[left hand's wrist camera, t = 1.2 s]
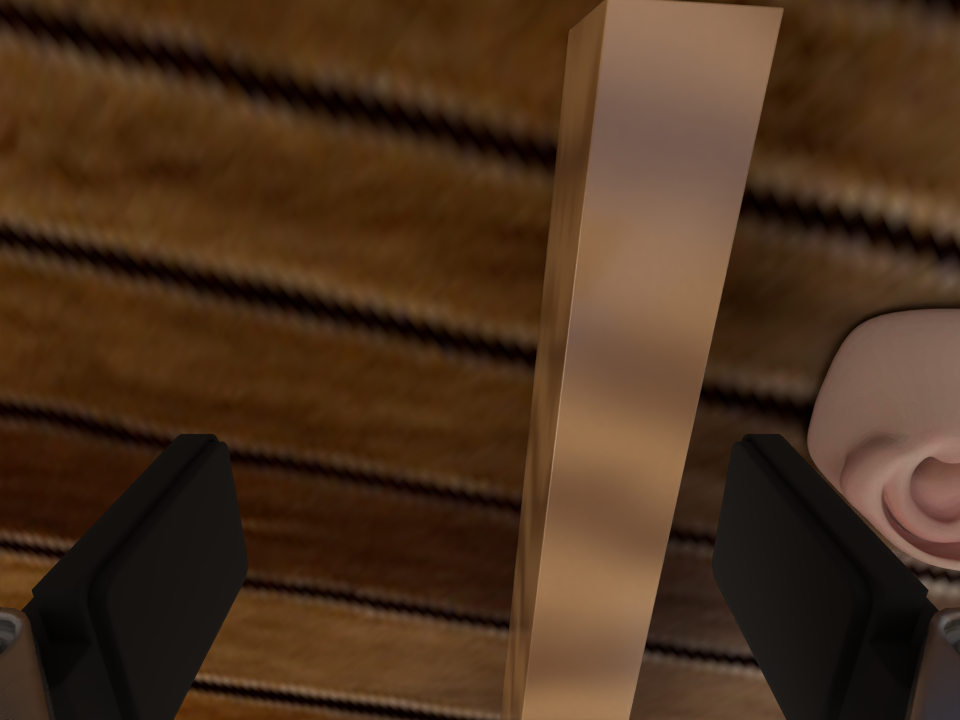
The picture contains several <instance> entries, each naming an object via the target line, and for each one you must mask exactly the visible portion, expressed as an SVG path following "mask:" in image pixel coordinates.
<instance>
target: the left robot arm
mask: <svg viewBox="0 0 960 720" xmlns="http://www.w3.org/2000/svg"><path fill="white" fill-rule="evenodd" d="M247 568H248V559H247V553H246V547H245V541H244V536H243V530H242V524H241V519H240V513H239V507H238V502H237V496H236V490H235V485H234V479H233V473H232V467H231V462H230V456H229V450H228V447H227V445H226V443H225V442H219V441H218V439H217V437H216V436H215V435H214V434H180V435H179V436H178V437H177V438H176V439H175V440H174V441H173V442H172V443H171V444H170V445H169V446H168V447H167V448H166V449H165V450H164V451H163V452H162V453H161V454H160V455H159V457H158V458H157V459H156V460H155V461H154V462H153V463H152V464H151V465H150V466H149V467H148V468H147V469H146V470H145V471H144V472H143V473H142V474H141V475H140V477H139V478H138V479H137V480H136V481H135V482H134V483H133V484H132V485H131V486H130V487H129V488H128V489H127V490H126V491H125V492H124V493H123V494H122V495H121V497H120V498H119V499H118V500H117V501H116V502H115V503H114V504H113V505H112V506H111V507H110V508H109V509H108V510H107V511H106V512H105V513H104V514H103V515H102V517H101V518H100V519H99V520H98V521H97V522H96V523H95V524H94V525H93V526H92V527H91V528H90V529H89V530H88V531H87V532H86V533H85V534H84V535H83V536H82V538H81V539H80V540H79V541H78V542H77V543H76V544H75V545H74V546H73V547H72V548H71V549H70V550H69V551H68V552H67V553H66V554H65V555H64V556H63V558H62V559H61V560H60V561H59V562H58V563H57V564H56V565H55V566H54V567H53V568H52V569H51V570H50V571H49V572H48V573H47V574H46V575H45V576H44V578H43V579H42V580H41V581H40V582H39V583H38V584H37V585H36V586H35V587H34V588H33V589H32V593H33V596H34V598H33V599H32V600H31V601H30V602H29V603H28V604H27V605H26V606H25V607H24V608H23V609H22V610H21V611H19V610H17V609H15V608H4V607H0V720H174V718H175V716H176V714H177V712H178V710H179V708H180V706H181V704H182V702H183V700H184V698H185V696H186V694H187V692H188V690H189V688H190V686H191V684H192V682H193V681H194V679H195V677H196V675H197V673H198V671H199V669H200V667H201V665H202V663H203V661H204V659H205V657H206V655H207V653H208V651H209V649H210V647H211V645H212V643H213V641H214V639H215V637H216V635H217V633H218V631H219V629H220V628H221V626H222V624H223V622H224V620H225V618H226V616H227V614H228V612H229V610H230V608H231V606H232V604H233V602H234V600H235V598H236V596H237V594H238V592H239V590H240V588H241V586H242V584H243V582H244V580H245V578H246V574H247ZM712 568H713V574H714V578H715V580H716V582H717V584H718V586H719V588H720V590H721V592H722V594H723V596H724V598H725V600H726V602H727V604H728V606H729V608H730V610H731V612H732V614H733V616H734V618H735V620H736V622H737V624H738V626H739V628H740V629H741V631H742V633H743V635H744V637H745V639H746V641H747V643H748V645H749V647H750V649H751V651H752V653H753V655H754V657H755V659H756V661H757V663H758V665H759V667H760V669H761V671H762V673H763V675H764V677H765V679H766V681H767V682H768V684H769V686H770V688H771V690H772V692H773V694H774V696H775V698H776V700H777V702H778V704H779V706H780V708H781V710H782V712H783V714H784V716H785V718H786V720H960V607H956V608H945V609H943V610H941V611H939V610H938V609H937V608H936V607H935V606H934V605H933V604H932V603H931V602H930V601H929V600H928V599H927V598H926V596H927V593H928V589H927V588H926V587H925V586H924V585H923V584H922V583H921V582H920V581H919V580H918V579H917V578H916V576H915V575H914V574H913V573H912V572H911V571H910V570H909V569H908V568H907V567H906V566H905V565H904V564H903V563H902V562H901V561H900V560H899V559H898V558H897V556H896V555H895V554H894V553H893V552H892V551H891V550H890V549H889V548H888V547H887V546H886V545H885V544H884V543H883V542H882V541H881V540H880V539H879V538H878V536H877V535H876V534H875V533H874V532H873V531H872V530H871V529H870V528H869V527H868V526H867V525H866V524H865V523H864V522H863V521H862V520H861V519H860V518H859V516H858V515H857V514H856V513H855V512H854V511H853V510H852V509H851V508H850V507H849V506H848V505H847V504H846V503H845V502H844V501H843V500H842V499H841V498H840V497H839V495H838V494H837V493H836V492H835V491H834V490H833V489H832V488H831V487H830V486H829V485H828V484H827V483H826V482H825V481H824V480H823V479H822V478H821V477H820V475H819V474H818V473H817V472H816V471H815V470H814V469H813V468H812V467H811V466H810V465H809V464H808V463H807V462H806V461H805V460H804V459H803V458H802V457H801V455H800V454H799V453H798V452H797V451H796V450H795V449H794V448H793V447H792V446H791V445H790V444H789V443H788V442H787V441H786V440H785V439H784V438H783V437H782V436H781V435H780V434H746V435H745V436H744V437H743V439H742V441H741V442H735V443H734V445H733V447H732V450H731V456H730V462H729V468H728V473H727V479H726V485H725V490H724V496H723V502H722V507H721V513H720V519H719V524H718V530H717V536H716V541H715V547H714V553H713V559H712Z"/></svg>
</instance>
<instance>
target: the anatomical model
mask: <svg viewBox="0 0 960 720" xmlns="http://www.w3.org/2000/svg"><path fill="white" fill-rule="evenodd" d="M807 445H808V450H809V453H810V456H811V458H812V460H813V461H814V463H815V464H816V466H817V467H818V469H819V470H820V471H821V472H822V473H823V475H824V476H825V477H826V478H827V479H828V480H829V481H830V482H831V484H832V485H833V486H834V487H835V488H836V489H837V490H838V491H839V492H840V493H841V494H842V495H843V496H844V497H845V498H846V499H847V500H848V501H849V502H850V504H851V505H852V506H853V507H855V508H856V509H857V510H858V511H859V512H860V513H861V514H862V515H863V516H864V517H866V518H867V519H868V520H869V521H870V522H871V523H872V524H873V525H874V527H875V528H876V529H877V530H878V531H879V532H880V533H881V534H882V535H883V536H884V537H886V538H887V539H888V540H889V541H890V542H891V543H892V544H894V545H895V546H896V547H898V548H899V549H900V550H902V551H903V552H905V553H907V554H908V555H910V556H912V557H914V558H916V559H918V560H920V561H923V562H925V563H928V564H931V565H934V566H938V567H942V568H948V569H953V570H960V309H920V310H908V311H901V312H894V313H889V314H884V315H880V316H877V317H875V318H872V319H869V320H867V321H865V322H864V323H862V324H860V325H859V326H857V327H856V328H855V329H854V330H853V331H852V332H851V333H850V334H849V335H848V336H847V338H846V339H845V340H844V342H843V343H842V344H841V346H840V348H839V350H838V352H837V353H836V355H835V357H834V359H833V361H832V363H831V365H830V368H829V370H828V372H827V375H826V377H825V379H824V382H823V384H822V386H821V389H820V391H819V393H818V396H817V399H816V402H815V405H814V409H813V413H812V417H811V421H810V425H809V429H808V438H807Z"/></svg>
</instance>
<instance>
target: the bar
mask: <svg viewBox="0 0 960 720" xmlns="http://www.w3.org/2000/svg"><path fill="white" fill-rule="evenodd" d="M783 10H784V8H782V7H769V6H754V5H738V4H723V3H708V2H692V1H677V0H604V1H602V2H601V3H600V4H599V5H598V6H597V7H596V8H594V9H593V10H592V11H591V12H590V13H589V14H587V15H586V16H585V17H584V18H583V19H582V20H580V21H579V22H578V23H577V24H576V25H575V26H573V27H572V28H571V29H570V30H569V36H568V46H567V56H566V66H565V76H564V86H563V96H562V106H561V116H560V126H559V136H558V146H557V156H556V166H555V176H554V186H553V196H552V206H551V216H550V226H549V237H548V247H547V257H546V267H545V277H544V287H543V297H542V307H541V317H540V327H539V337H538V347H537V357H536V367H535V377H534V387H533V397H532V407H531V417H530V427H529V437H528V447H527V457H526V467H525V477H524V487H523V497H522V507H521V517H520V527H519V537H518V547H517V557H516V567H515V577H514V587H513V597H512V607H511V617H510V627H509V637H508V647H507V657H506V667H505V677H504V687H503V697H502V707H501V717H500V720H629V717H630V713H631V708H632V703H633V699H634V694H635V690H636V685H637V680H638V676H639V671H640V667H641V662H642V657H643V653H644V648H645V644H646V639H647V635H648V630H649V625H650V621H651V616H652V612H653V607H654V602H655V598H656V593H657V589H658V584H659V579H660V575H661V570H662V566H663V561H664V556H665V552H666V547H667V543H668V538H669V534H670V529H671V524H672V520H673V515H674V511H675V506H676V501H677V497H678V492H679V488H680V483H681V478H682V474H683V469H684V465H685V460H686V456H687V451H688V446H689V442H690V437H691V433H692V428H693V423H694V419H695V414H696V410H697V405H698V400H699V396H700V391H701V387H702V382H703V377H704V373H705V368H706V364H707V359H708V355H709V350H710V345H711V341H712V336H713V332H714V327H715V322H716V318H717V313H718V309H719V304H720V299H721V295H722V290H723V286H724V281H725V277H726V272H727V267H728V263H729V258H730V254H731V249H732V244H733V240H734V235H735V231H736V226H737V221H738V217H739V212H740V208H741V203H742V198H743V194H744V189H745V185H746V180H747V176H748V171H749V166H750V162H751V157H752V153H753V148H754V143H755V139H756V134H757V130H758V125H759V120H760V116H761V111H762V107H763V102H764V98H765V93H766V88H767V84H768V79H769V75H770V70H771V65H772V61H773V56H774V52H775V47H776V42H777V38H778V33H779V29H780V24H781V19H782V15H783Z"/></svg>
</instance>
